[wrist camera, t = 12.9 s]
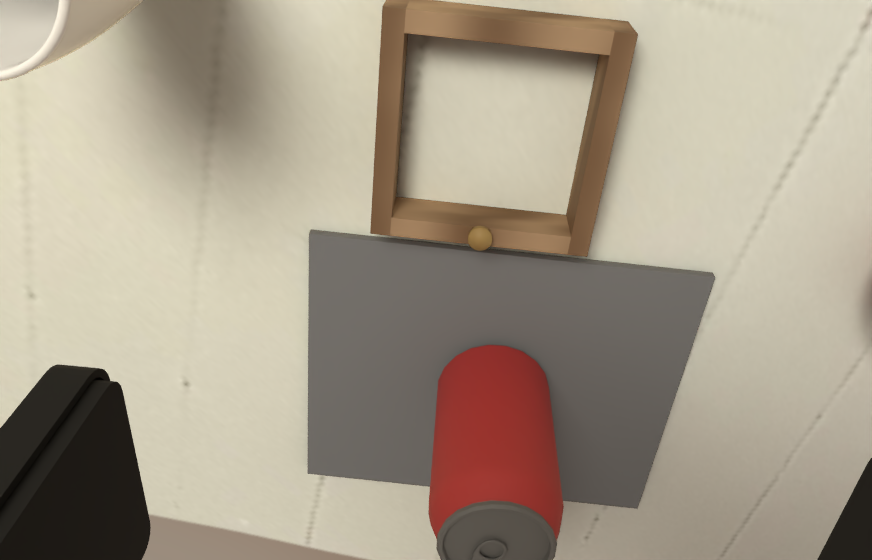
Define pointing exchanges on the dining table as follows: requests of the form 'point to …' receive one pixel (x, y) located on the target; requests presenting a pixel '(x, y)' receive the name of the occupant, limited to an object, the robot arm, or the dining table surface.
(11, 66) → the drinking glass
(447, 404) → the beer can
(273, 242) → the dining table surface
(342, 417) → the mat
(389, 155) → the frame
